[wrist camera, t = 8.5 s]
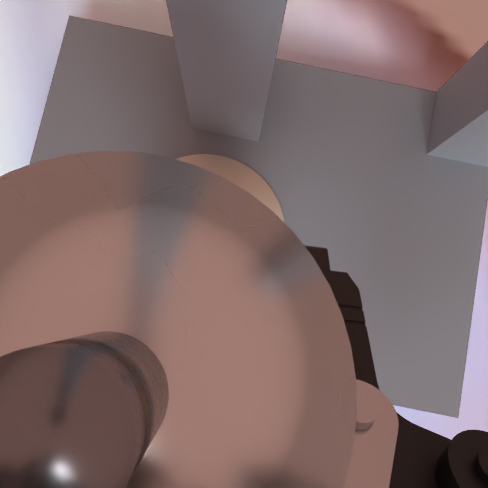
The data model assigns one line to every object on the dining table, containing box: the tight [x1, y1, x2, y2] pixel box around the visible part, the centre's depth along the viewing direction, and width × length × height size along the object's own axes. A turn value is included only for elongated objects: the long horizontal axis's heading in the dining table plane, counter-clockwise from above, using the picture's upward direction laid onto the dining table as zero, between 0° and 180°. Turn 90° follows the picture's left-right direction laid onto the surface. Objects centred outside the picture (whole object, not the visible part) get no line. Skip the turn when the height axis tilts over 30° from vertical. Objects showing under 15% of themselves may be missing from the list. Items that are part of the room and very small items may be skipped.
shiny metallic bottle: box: [0, 151, 357, 488], centre depth 9 cm, size 5×5×12 cm
